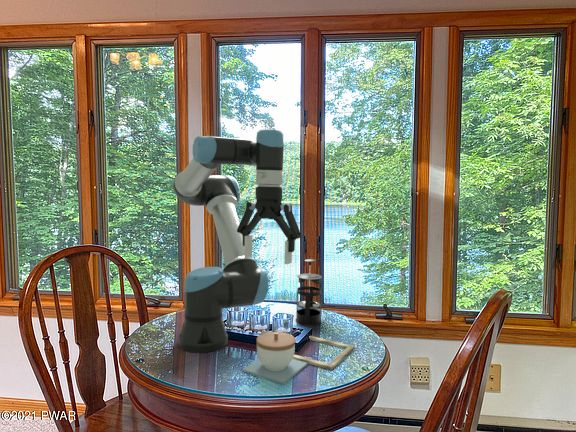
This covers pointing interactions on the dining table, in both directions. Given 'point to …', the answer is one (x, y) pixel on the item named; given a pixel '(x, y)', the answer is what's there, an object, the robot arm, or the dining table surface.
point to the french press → (309, 299)
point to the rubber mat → (276, 376)
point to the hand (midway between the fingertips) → (267, 260)
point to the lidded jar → (275, 350)
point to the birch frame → (335, 362)
